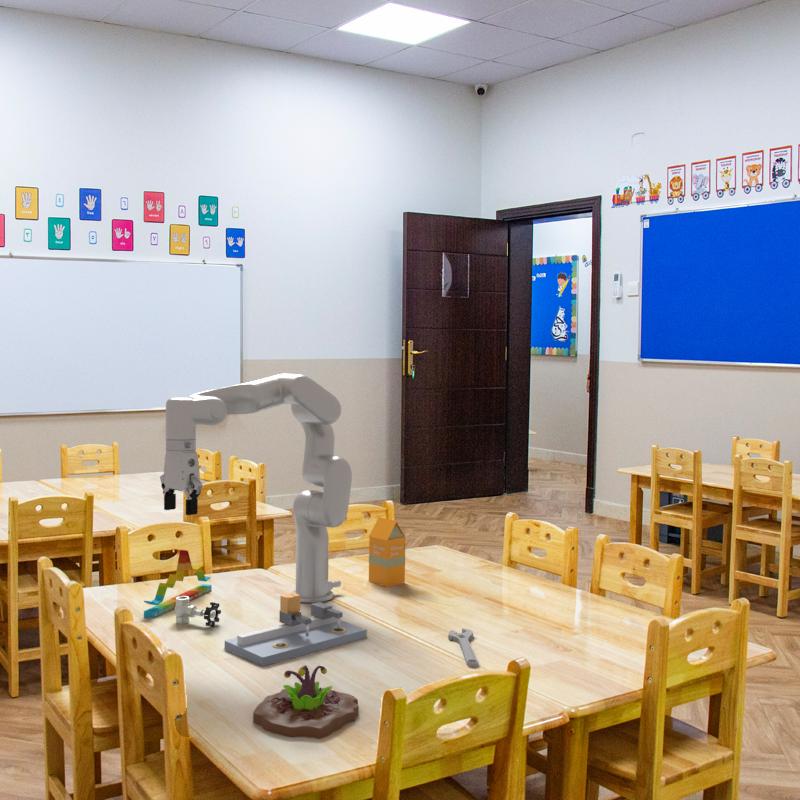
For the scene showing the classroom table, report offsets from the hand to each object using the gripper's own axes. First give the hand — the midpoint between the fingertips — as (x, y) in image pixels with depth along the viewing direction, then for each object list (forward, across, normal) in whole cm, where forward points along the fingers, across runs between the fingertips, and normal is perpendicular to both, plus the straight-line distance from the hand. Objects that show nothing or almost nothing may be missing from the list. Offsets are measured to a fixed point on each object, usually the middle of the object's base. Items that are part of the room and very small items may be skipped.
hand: (180, 512), depth 233 cm
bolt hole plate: (+31, -30, -14) cm, 45 cm away
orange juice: (+31, -4, -73) cm, 79 cm away
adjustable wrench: (+31, -62, -40) cm, 80 cm away
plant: (+31, -65, +14) cm, 73 cm away
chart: (+31, +21, -14) cm, 40 cm away
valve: (+31, +1, -5) cm, 31 cm away
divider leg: (+28, -29, -14) cm, 43 cm away
